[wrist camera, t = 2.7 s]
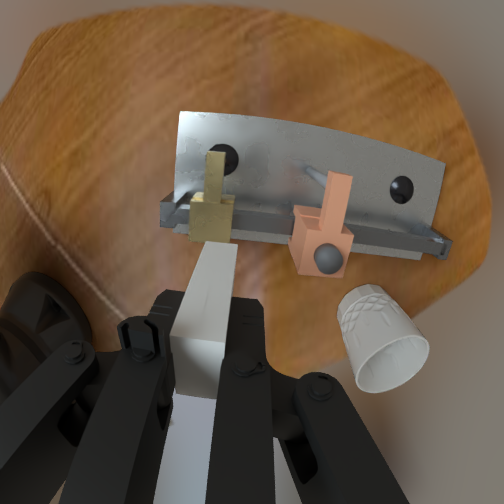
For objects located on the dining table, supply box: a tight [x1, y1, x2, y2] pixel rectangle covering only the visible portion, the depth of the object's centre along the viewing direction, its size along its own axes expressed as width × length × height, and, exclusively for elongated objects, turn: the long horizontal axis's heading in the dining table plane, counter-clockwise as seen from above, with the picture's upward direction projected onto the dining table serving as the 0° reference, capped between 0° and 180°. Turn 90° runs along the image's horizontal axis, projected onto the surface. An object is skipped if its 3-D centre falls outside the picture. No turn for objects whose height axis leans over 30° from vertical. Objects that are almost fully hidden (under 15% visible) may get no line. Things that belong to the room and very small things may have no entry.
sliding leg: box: [288, 167, 354, 278], centre depth 19 cm, size 3×7×9 cm, turn 173°
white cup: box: [337, 284, 430, 393], centre depth 26 cm, size 8×8×10 cm
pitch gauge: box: [160, 112, 453, 260], centre depth 22 cm, size 26×11×7 cm, turn 83°
